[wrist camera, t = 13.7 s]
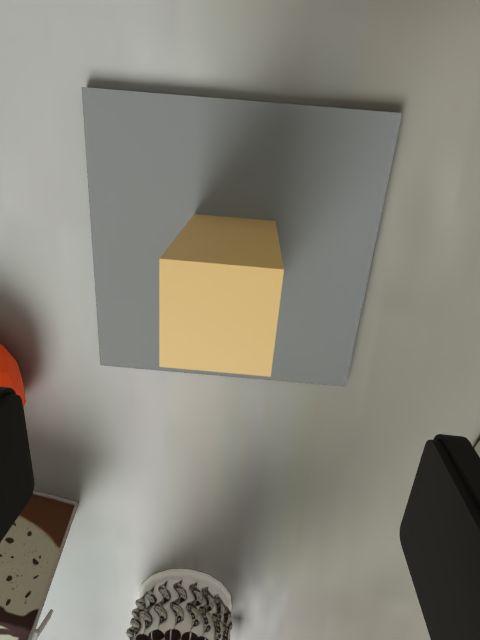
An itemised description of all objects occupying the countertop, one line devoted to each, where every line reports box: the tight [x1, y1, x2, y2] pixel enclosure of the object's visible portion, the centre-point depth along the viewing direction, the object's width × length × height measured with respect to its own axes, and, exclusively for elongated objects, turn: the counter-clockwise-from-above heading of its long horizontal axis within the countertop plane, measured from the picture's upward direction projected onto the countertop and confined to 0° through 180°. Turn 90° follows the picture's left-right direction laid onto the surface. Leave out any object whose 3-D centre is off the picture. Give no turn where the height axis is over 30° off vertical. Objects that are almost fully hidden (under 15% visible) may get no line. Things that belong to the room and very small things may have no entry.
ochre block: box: [159, 214, 284, 377], centre depth 20 cm, size 4×4×9 cm
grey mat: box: [82, 87, 402, 386], centre depth 25 cm, size 16×16×1 cm
